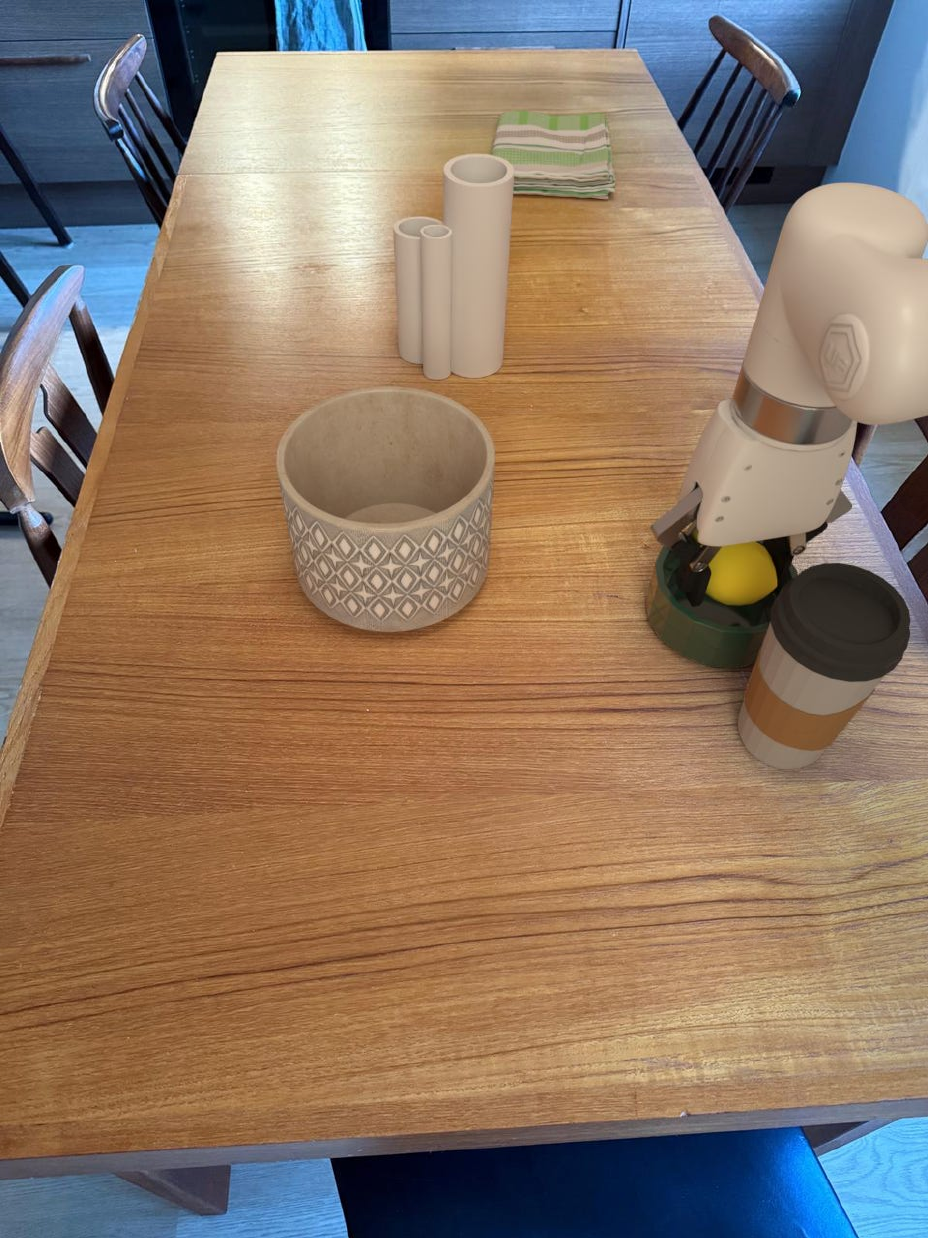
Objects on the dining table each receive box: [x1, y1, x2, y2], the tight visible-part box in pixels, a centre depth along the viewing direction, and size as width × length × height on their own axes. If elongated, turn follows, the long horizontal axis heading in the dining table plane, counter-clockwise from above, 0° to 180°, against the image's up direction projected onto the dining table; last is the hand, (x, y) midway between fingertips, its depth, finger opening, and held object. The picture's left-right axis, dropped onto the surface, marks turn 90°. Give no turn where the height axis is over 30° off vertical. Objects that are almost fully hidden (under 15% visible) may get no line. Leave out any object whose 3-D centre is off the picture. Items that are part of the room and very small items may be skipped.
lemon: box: [701, 541, 777, 606], centre depth 69 cm, size 7×5×5 cm
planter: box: [275, 385, 496, 633], centre depth 72 cm, size 16×16×13 cm
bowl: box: [645, 530, 799, 669], centre depth 72 cm, size 11×11×5 cm
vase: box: [392, 153, 514, 381], centre depth 88 cm, size 11×7×20 cm, turn 89°
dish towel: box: [490, 110, 617, 200], centre depth 126 cm, size 17×23×4 cm
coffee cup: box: [737, 562, 911, 770], centre depth 61 cm, size 8×8×15 cm
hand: (728, 585), depth 71 cm, fingers closed on lemon, 5 cm apart
